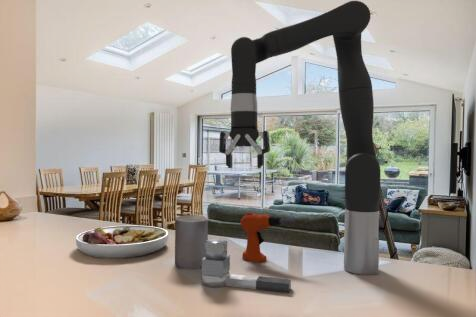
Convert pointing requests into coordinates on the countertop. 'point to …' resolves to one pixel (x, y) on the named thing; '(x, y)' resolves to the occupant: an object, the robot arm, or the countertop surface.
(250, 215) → the toy drill
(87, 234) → the bowl
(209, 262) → the cylinder on square block
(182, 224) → the pillar candle
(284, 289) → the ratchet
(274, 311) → the countertop surface
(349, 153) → the robot arm
